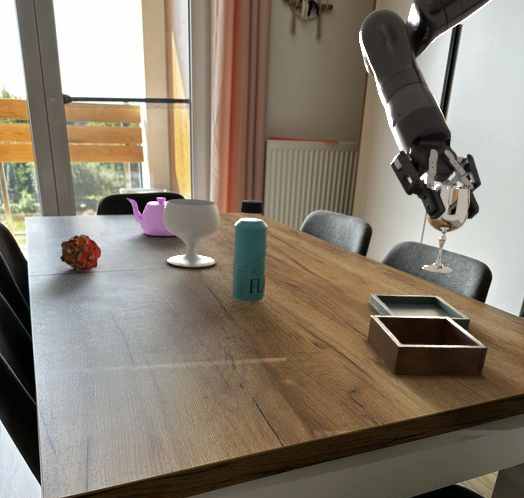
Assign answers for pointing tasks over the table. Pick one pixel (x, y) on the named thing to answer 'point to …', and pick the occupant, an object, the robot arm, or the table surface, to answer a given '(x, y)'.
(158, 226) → the teapot
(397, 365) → the brown wooden box
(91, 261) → the dragon fruit
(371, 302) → the tray
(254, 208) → the beverage bottle
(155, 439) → the table surface
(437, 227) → the wineglass
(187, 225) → the chalice
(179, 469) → the table surface
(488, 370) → the table surface
